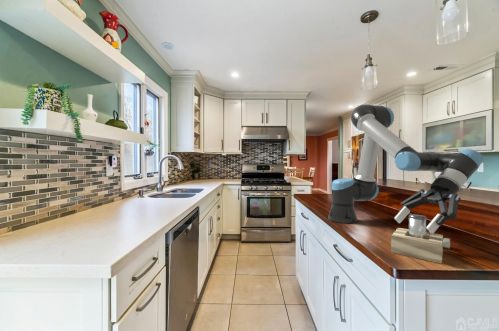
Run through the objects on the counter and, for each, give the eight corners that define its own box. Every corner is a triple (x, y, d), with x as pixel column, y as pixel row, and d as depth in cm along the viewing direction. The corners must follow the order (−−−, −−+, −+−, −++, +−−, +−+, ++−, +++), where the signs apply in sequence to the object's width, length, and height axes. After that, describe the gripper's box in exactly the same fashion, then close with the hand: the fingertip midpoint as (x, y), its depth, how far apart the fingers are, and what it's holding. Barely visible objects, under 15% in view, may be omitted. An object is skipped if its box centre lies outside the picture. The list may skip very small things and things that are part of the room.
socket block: (397, 242, 93) (397, 227, 93) (442, 251, 84) (442, 234, 84) (391, 252, 82) (391, 235, 82) (441, 263, 73) (442, 245, 73)
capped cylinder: (409, 245, 86) (409, 213, 87) (426, 248, 83) (426, 215, 83) (408, 248, 83) (407, 215, 83) (425, 252, 79) (425, 217, 80)
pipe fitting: (424, 242, 95) (422, 244, 91) (425, 232, 96) (422, 234, 91) (450, 246, 90) (449, 250, 85) (450, 236, 90) (449, 239, 85)
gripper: (494, 195, 73) (453, 244, 71) (423, 187, 97) (391, 223, 95) (480, 178, 72) (439, 227, 70) (412, 174, 97) (380, 211, 94)
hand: (411, 225), depth 82 cm, fingers open, 13 cm apart
